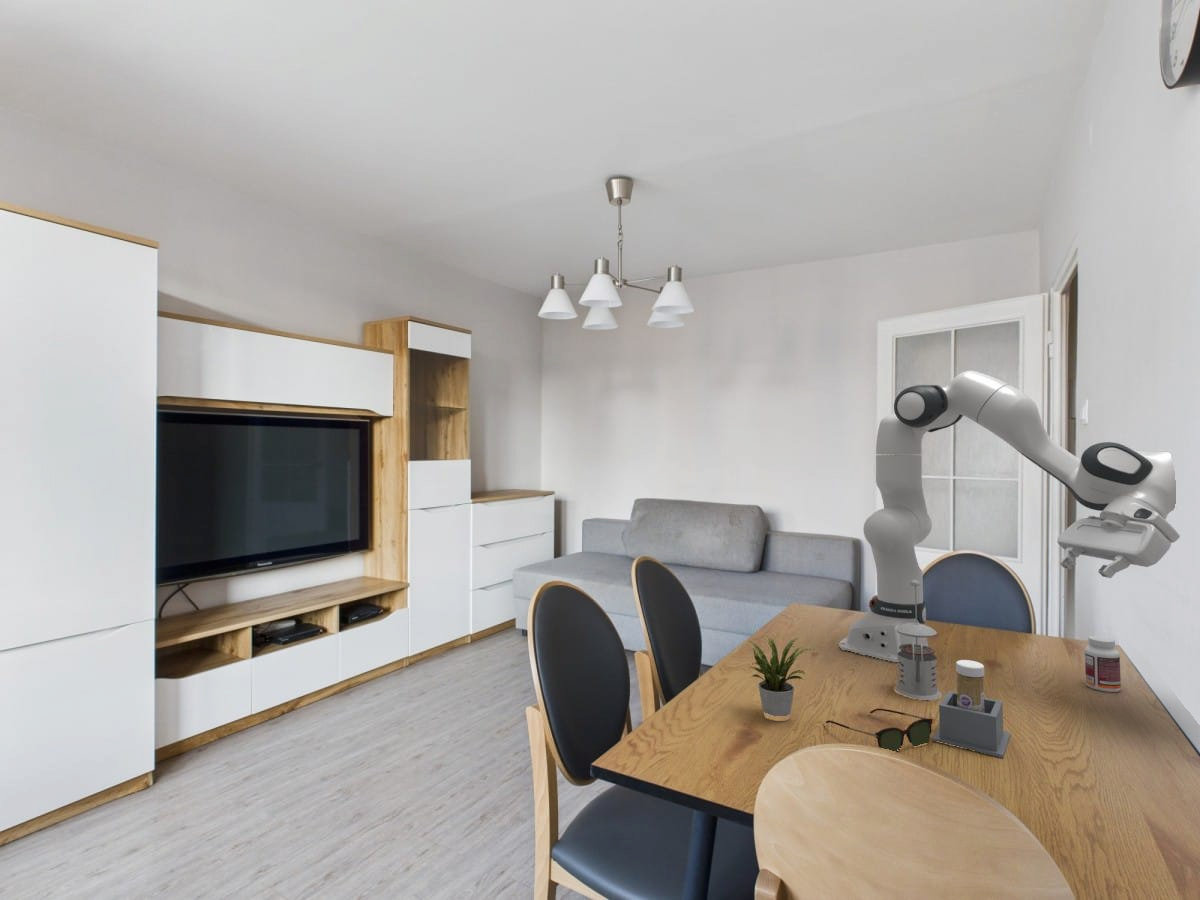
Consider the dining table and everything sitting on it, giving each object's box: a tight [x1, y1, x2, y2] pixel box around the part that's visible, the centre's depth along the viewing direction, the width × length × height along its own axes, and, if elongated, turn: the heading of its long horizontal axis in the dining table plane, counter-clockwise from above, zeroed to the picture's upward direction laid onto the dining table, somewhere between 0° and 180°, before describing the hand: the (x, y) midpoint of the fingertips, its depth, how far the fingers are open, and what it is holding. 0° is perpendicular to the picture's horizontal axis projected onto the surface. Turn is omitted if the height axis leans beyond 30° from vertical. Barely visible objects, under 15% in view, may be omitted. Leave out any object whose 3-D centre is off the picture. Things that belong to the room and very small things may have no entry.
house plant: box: [747, 635, 816, 716], centre depth 129 cm, size 14×14×16 cm
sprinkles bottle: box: [955, 659, 985, 713], centre depth 117 cm, size 5×5×14 cm
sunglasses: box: [825, 708, 934, 753], centre depth 120 cm, size 14×15×5 cm
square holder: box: [932, 690, 1011, 759], centre depth 117 cm, size 11×11×7 cm
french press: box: [894, 580, 943, 700], centre depth 139 cm, size 10×12×25 cm
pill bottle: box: [1084, 635, 1122, 693], centre depth 141 cm, size 6×6×11 cm
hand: (1083, 570), depth 125 cm, fingers open, 8 cm apart
